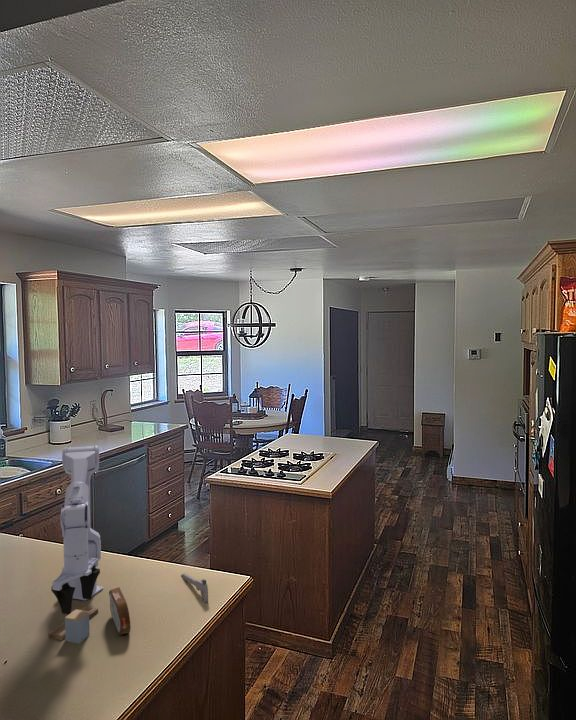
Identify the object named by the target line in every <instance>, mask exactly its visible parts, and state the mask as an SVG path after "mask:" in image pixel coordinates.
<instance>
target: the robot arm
mask: <svg viewBox="0 0 576 720" xmlns="http://www.w3.org/2000/svg"><path fill="white" fill-rule="evenodd" d="M61 456H62V457H61V460H62V463H61V465H62V468H63V470H64V472H65V474H67V475H70V479H71V481H70V482H71V483H70V484H69V485H68V486H67V487H66V489H65V496H64V506H63V507H61V510H60V528H61V536H62V538H63V541H62V542H63V567H62V570H61V573H60V574H59V575H58V577H56V579H55V580H53V581H52V586H51V591H50V592H52V594H53V595H54V597H56V600H57V602H58V604H59V607H60V610H61V614H64V615H69V614H70V613H72V611H73V610H72V609H73V608H72V607H73V599H74V600H79V601H88V600H89V601H90V600H91V599H92V597H94V596H96V594H98V593H99V592H100V591H102V590H103V589H104V586H101V585H98V583H97V581H98V580H97V579H98V578H99V575H100V574H101V569H100V568H98V566H99V562H100V560H101V558H102V543H101V541H102V540H101V535H100V533H99V532H98V531H96V530H95V529H93V528H91V479H92V475H93V474H94V473H96V472H99V469H100V447H99V446H98V445H97V444H95V445H87V446H72V447H67V446H65V447H64V448H63V449H62V454H61Z"/></svg>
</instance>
